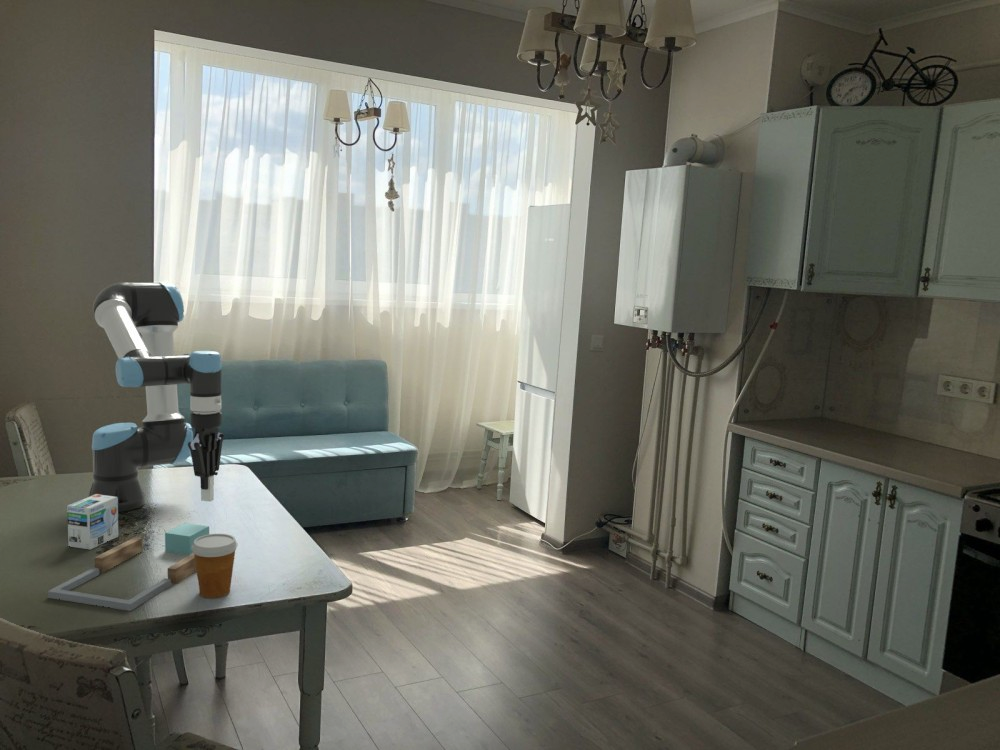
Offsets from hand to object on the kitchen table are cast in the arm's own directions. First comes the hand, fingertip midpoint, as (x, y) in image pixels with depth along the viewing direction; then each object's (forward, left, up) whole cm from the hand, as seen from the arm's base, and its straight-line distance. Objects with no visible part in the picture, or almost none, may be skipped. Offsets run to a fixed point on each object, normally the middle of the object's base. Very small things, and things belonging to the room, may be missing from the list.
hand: (207, 500), depth 204 cm
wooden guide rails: (+21, 0, -10) cm, 23 cm away
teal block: (+8, 0, -10) cm, 13 cm away
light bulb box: (+12, -24, -10) cm, 29 cm away
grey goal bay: (+35, 0, -10) cm, 37 cm away
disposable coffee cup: (+29, +21, -10) cm, 37 cm away
